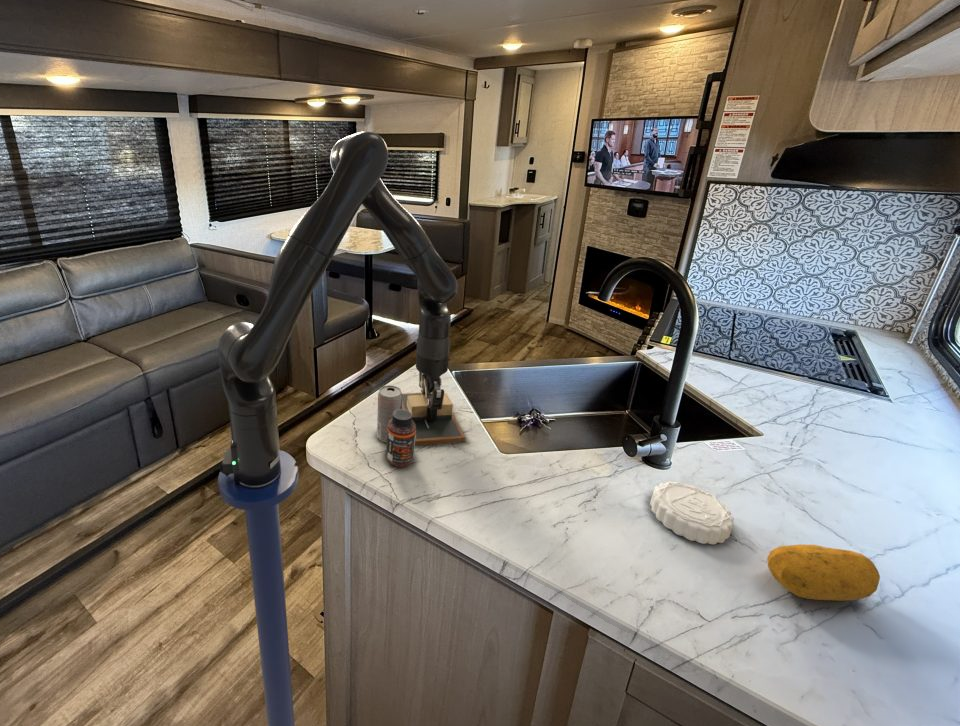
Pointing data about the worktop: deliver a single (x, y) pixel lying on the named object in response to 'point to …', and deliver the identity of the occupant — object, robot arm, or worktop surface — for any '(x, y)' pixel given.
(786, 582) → the potato
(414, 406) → the eraser
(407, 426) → the supplement bottle
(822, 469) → the worktop surface
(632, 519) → the worktop surface
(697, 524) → the mooncake
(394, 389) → the energy drink
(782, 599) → the worktop surface
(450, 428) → the chalkboard
